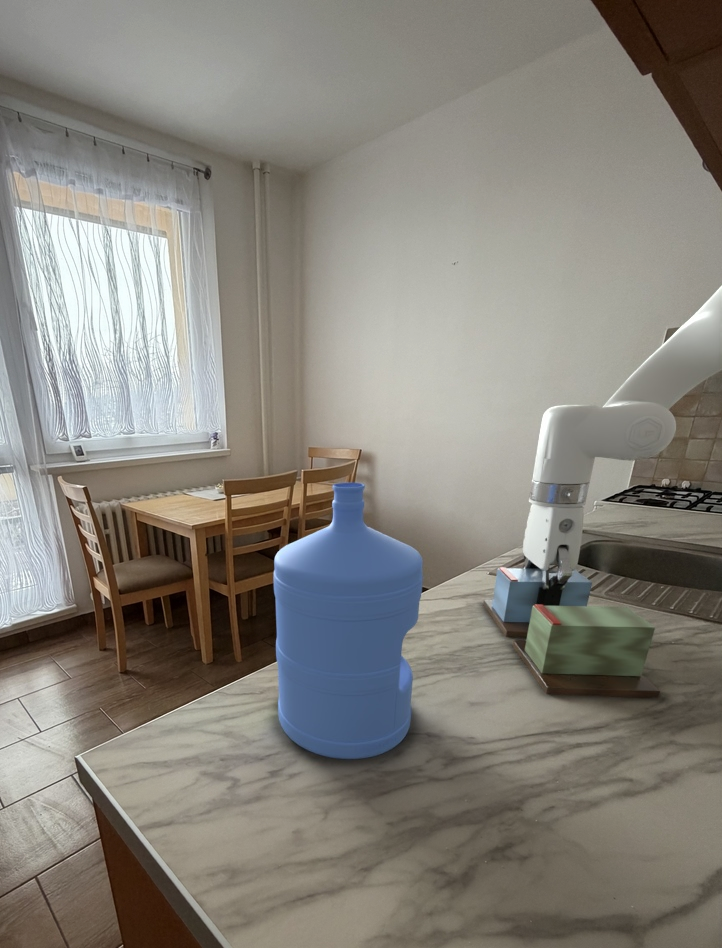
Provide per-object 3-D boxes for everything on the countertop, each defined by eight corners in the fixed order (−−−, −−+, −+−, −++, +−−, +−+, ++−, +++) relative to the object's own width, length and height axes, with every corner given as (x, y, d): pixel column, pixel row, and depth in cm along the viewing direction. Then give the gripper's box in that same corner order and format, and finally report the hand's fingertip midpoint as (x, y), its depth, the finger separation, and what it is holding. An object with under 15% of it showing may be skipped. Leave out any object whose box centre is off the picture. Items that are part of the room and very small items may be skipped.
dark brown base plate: (558, 608, 86) (560, 600, 85) (594, 641, 74) (596, 632, 74) (482, 607, 88) (483, 599, 87) (505, 639, 76) (506, 631, 75)
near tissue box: (614, 652, 68) (626, 604, 65) (641, 676, 62) (656, 625, 59) (524, 650, 69) (532, 603, 67) (541, 673, 63) (552, 623, 61)
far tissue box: (565, 607, 83) (573, 567, 80) (583, 623, 77) (592, 580, 74) (491, 606, 84) (497, 566, 81) (503, 622, 78) (510, 580, 75)
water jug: (313, 781, 49) (312, 507, 38) (260, 700, 63) (248, 481, 52) (438, 740, 54) (468, 488, 44) (364, 674, 68) (373, 470, 57)
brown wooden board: (604, 651, 71) (606, 642, 71) (657, 701, 59) (660, 691, 59) (511, 648, 73) (513, 639, 72) (545, 697, 61) (547, 687, 61)
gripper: (615, 504, 64) (586, 625, 71) (560, 483, 80) (541, 584, 87) (555, 504, 65) (532, 624, 72) (512, 484, 81) (497, 583, 88)
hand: (537, 601), depth 79 cm, fingers closed on far tissue box, 6 cm apart
